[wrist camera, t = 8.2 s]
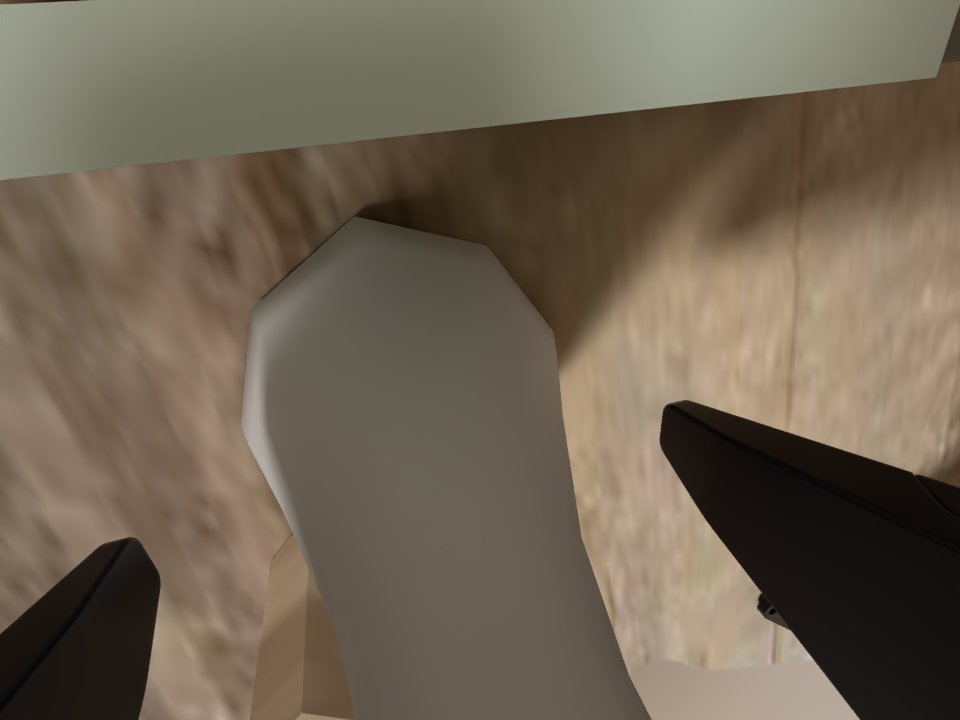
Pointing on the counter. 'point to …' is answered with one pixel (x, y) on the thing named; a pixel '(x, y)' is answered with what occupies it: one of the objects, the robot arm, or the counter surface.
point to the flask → (431, 481)
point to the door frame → (326, 623)
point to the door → (410, 67)
